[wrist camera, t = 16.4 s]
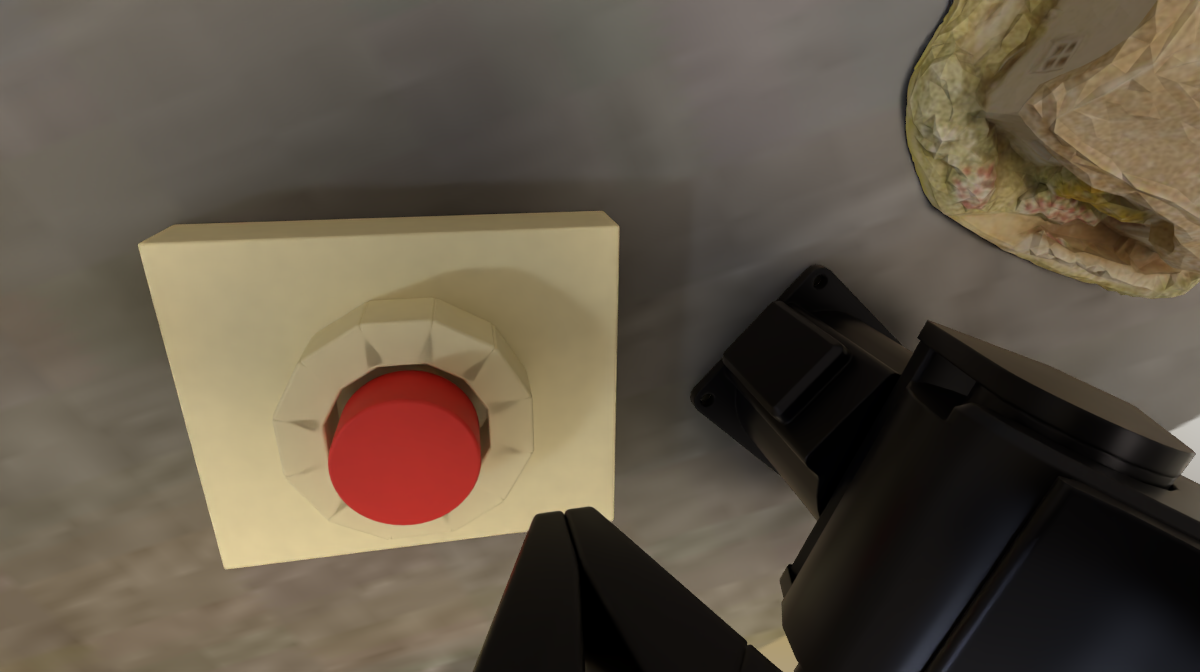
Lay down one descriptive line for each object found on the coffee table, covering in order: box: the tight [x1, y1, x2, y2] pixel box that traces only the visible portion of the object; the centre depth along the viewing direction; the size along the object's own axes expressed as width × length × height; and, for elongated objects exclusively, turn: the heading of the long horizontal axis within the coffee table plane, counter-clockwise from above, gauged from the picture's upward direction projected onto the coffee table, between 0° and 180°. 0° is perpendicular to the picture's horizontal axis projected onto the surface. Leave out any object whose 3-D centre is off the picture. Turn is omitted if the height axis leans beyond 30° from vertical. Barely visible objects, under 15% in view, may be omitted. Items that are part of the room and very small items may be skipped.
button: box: [328, 370, 481, 525], centre depth 16 cm, size 4×4×2 cm
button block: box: [138, 211, 620, 569], centre depth 19 cm, size 12×10×4 cm
